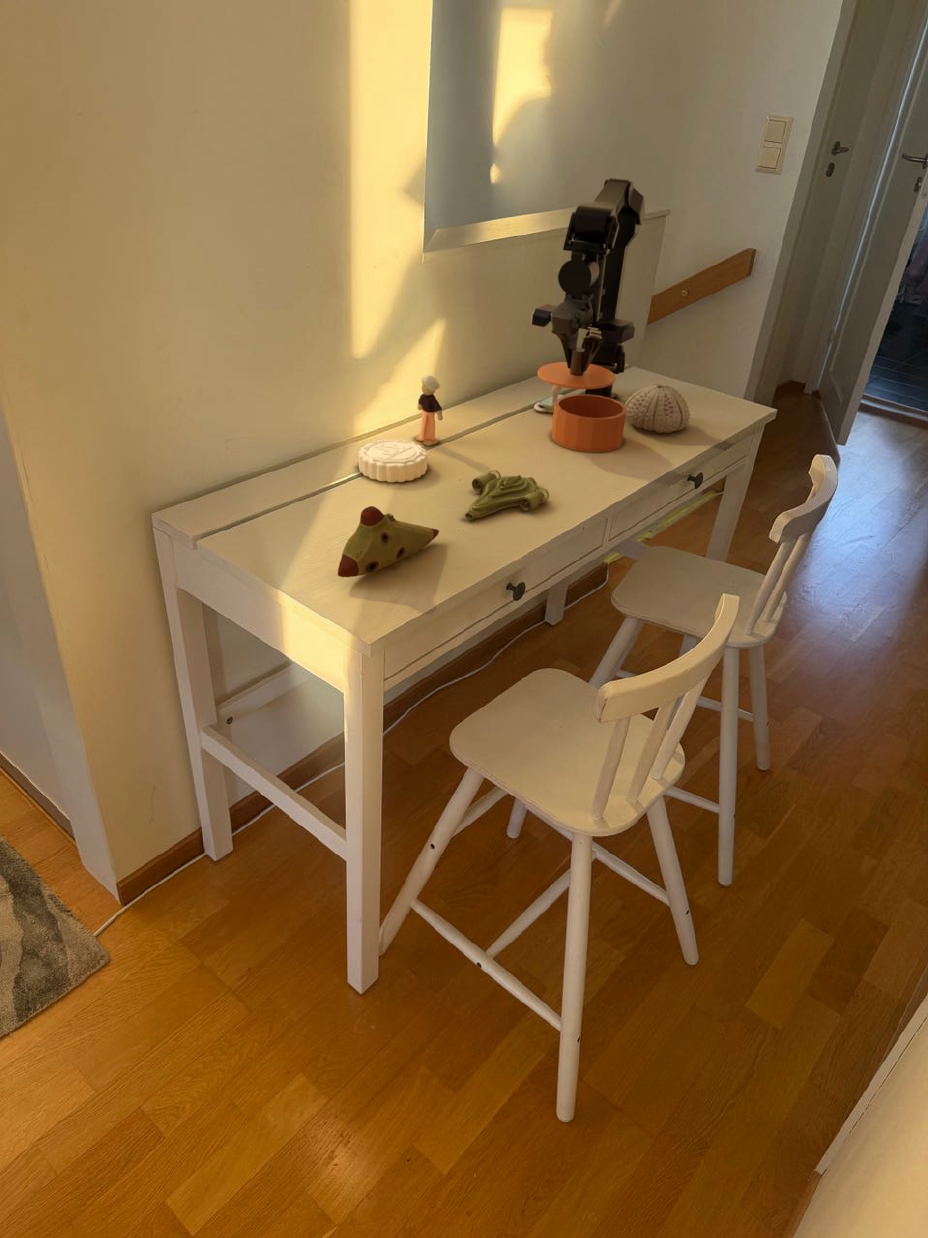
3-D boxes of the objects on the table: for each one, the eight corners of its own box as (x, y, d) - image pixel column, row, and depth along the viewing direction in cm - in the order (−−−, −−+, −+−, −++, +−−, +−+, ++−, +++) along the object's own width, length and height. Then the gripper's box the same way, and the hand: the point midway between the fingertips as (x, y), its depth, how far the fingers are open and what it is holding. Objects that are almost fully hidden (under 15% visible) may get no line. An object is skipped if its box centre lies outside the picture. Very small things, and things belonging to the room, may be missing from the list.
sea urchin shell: (646, 408, 189) (652, 371, 185) (701, 426, 181) (708, 388, 177) (608, 422, 181) (613, 384, 177) (664, 442, 173) (671, 402, 169)
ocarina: (425, 533, 137) (427, 473, 132) (451, 546, 134) (454, 485, 129) (326, 580, 124) (323, 516, 119) (352, 594, 121) (350, 529, 116)
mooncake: (388, 449, 164) (388, 431, 162) (440, 467, 159) (441, 448, 157) (344, 470, 156) (344, 450, 154) (398, 489, 150) (398, 469, 148)
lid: (561, 362, 177) (564, 334, 174) (628, 378, 170) (632, 349, 167) (522, 380, 166) (525, 350, 163) (591, 398, 160) (595, 367, 157)
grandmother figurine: (406, 438, 169) (407, 372, 162) (420, 433, 172) (422, 368, 165) (435, 450, 165) (437, 383, 158) (449, 445, 167) (452, 378, 161)
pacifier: (528, 411, 185) (554, 417, 182) (530, 382, 181) (556, 387, 179) (543, 402, 190) (569, 407, 188) (545, 373, 187) (571, 377, 184)
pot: (573, 420, 181) (577, 389, 178) (633, 437, 175) (638, 405, 171) (538, 439, 172) (541, 406, 168) (600, 458, 165) (605, 424, 162)
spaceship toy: (436, 508, 145) (437, 488, 143) (502, 475, 157) (503, 456, 155) (498, 532, 139) (499, 512, 137) (561, 496, 151) (563, 477, 149)
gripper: (518, 281, 157) (512, 369, 166) (613, 300, 149) (601, 391, 157) (550, 272, 165) (542, 356, 174) (641, 289, 157) (629, 376, 165)
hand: (576, 369), depth 167 cm, fingers closed on lid, 2 cm apart
